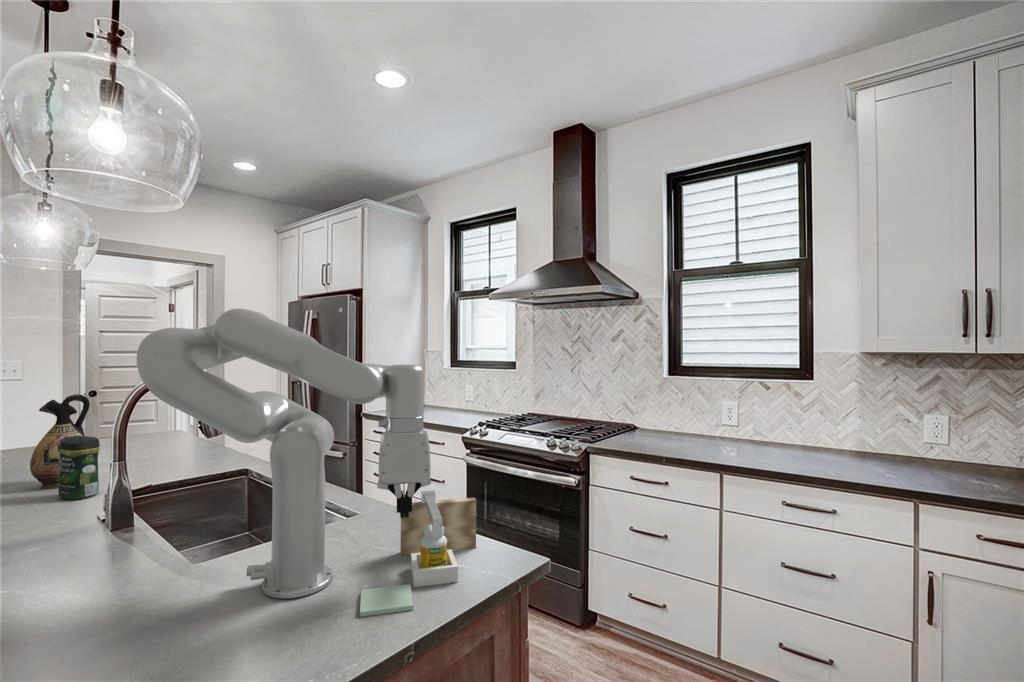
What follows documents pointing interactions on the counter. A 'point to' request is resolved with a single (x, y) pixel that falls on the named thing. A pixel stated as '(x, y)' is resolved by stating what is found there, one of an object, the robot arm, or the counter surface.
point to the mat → (386, 600)
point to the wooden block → (454, 520)
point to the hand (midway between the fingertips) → (404, 515)
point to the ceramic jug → (56, 440)
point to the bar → (432, 511)
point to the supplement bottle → (433, 549)
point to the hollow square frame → (433, 571)
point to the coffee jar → (78, 467)
